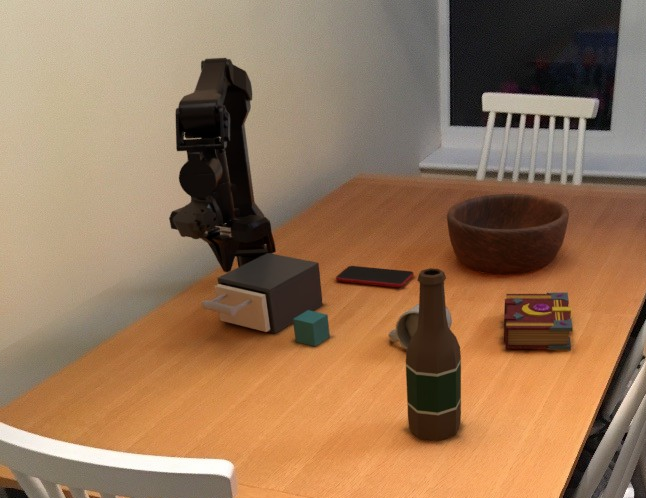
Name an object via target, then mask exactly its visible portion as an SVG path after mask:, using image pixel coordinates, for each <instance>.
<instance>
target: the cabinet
mask: <svg viewBox="0 0 646 498" xmlns="http://www.w3.org/2000/svg"><path fill="white" fill-rule="evenodd" d="M216 278H217V279H216V280H217V284H221V285H225V286H227V284H230V285H235V286H239V287H244V288H248V289H253V290H257V291H262V292H266V293H267V300H268V307H269V314H270V321H271V324H270V330H269V331H267V332H268V333H271V334H277V333H279V332H281V331H282V330H284V329H286V328H287V327H289V326H290V325H292V324H294V323H293V319H294V318H296V317H297V316H299V315H301V314H302V313H304V312H306V311H307V310H310V311H315V310H317V309H319V308H320V307H322V306H324V304H323V293H322V284H321V272H320V263H319V262H317V261H311V260H306V259H301V258H296V257H291V256H286V255H282V254H281V255H280V254H276V253H272V254H271V253H267V254H265V255H263V256H261V257H259V258H257V259H255V260H253V261H250V262H248V263H246V264H244V265H242V266H240V267H238V266H237V267H236V268H234V269H231V271H229V272H225V273H224V274H222V275H220V276H218V277H216ZM267 332H266V333H267Z"/></svg>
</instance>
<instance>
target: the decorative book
mask: <svg viewBox="0 0 646 498" xmlns="http://www.w3.org/2000/svg"><path fill="white" fill-rule="evenodd" d="M569 302H570V301H569V293H568V292H546V293H506V297H505V298H504V309H503V310H504V311H503V312H504V313H503V343H505V347H504V348H505V349H521V350H522V349H524V350H525V349H527V350H529V349H532V350H533V349H534V350H536V349H537V350H538V349H539V350H541V349H542V350H543V349H544V350H546V349H547V350H548V351H571V350H572V342H571V341H572V340H571V337H570V332H571V333H572V332H573V329H574V327H573V320H572V318H571V316H572V307H571V306H569V304H570V303H569Z"/></svg>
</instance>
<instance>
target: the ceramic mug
mask: <svg viewBox="0 0 646 498" xmlns="http://www.w3.org/2000/svg"><path fill="white" fill-rule="evenodd" d="M446 317H447V322H448V327H449V329H450V330H451V328H452V323H453V318H452V314H451V312H450V309H448V307H447V306H446ZM418 320H419V303H418V304H416V305H414V306H413V307H411V308H410V309H408V310H407V311H405V312H404V313H402V314H401V315H400V316H399V318H398V319H397V321H396V323H395V328H393V329H392V330H391V331H389V332H388V338H389V339H390V341H391V343H396V342H399V343H400V344H399V345H401V346H402V347H403V348H404V349H405V350H406V351H407V348H408V345H409V342H410V340H411V338H412V337H413V335H414V334H415V332H416V331H417V326H418Z"/></svg>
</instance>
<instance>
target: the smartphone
mask: <svg viewBox="0 0 646 498" xmlns="http://www.w3.org/2000/svg"><path fill="white" fill-rule="evenodd" d="M414 275H415V273H414V272H413V271H412V270H403V269H402V270H401V269H391V268H380V267H369V266H360V265H359V266H358V265H349V266H347V267H346V268H345V269H343V270H342V271H341V272H340V273H338V274H337V275H336V277H335V280H336V281H337V282H342V283H353V284H363V285H372V286H373V285H374V286H382V287H390V288H402V287H404V286H405V284H406V283H408V281H410V280H411V279H412V277H414Z"/></svg>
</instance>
